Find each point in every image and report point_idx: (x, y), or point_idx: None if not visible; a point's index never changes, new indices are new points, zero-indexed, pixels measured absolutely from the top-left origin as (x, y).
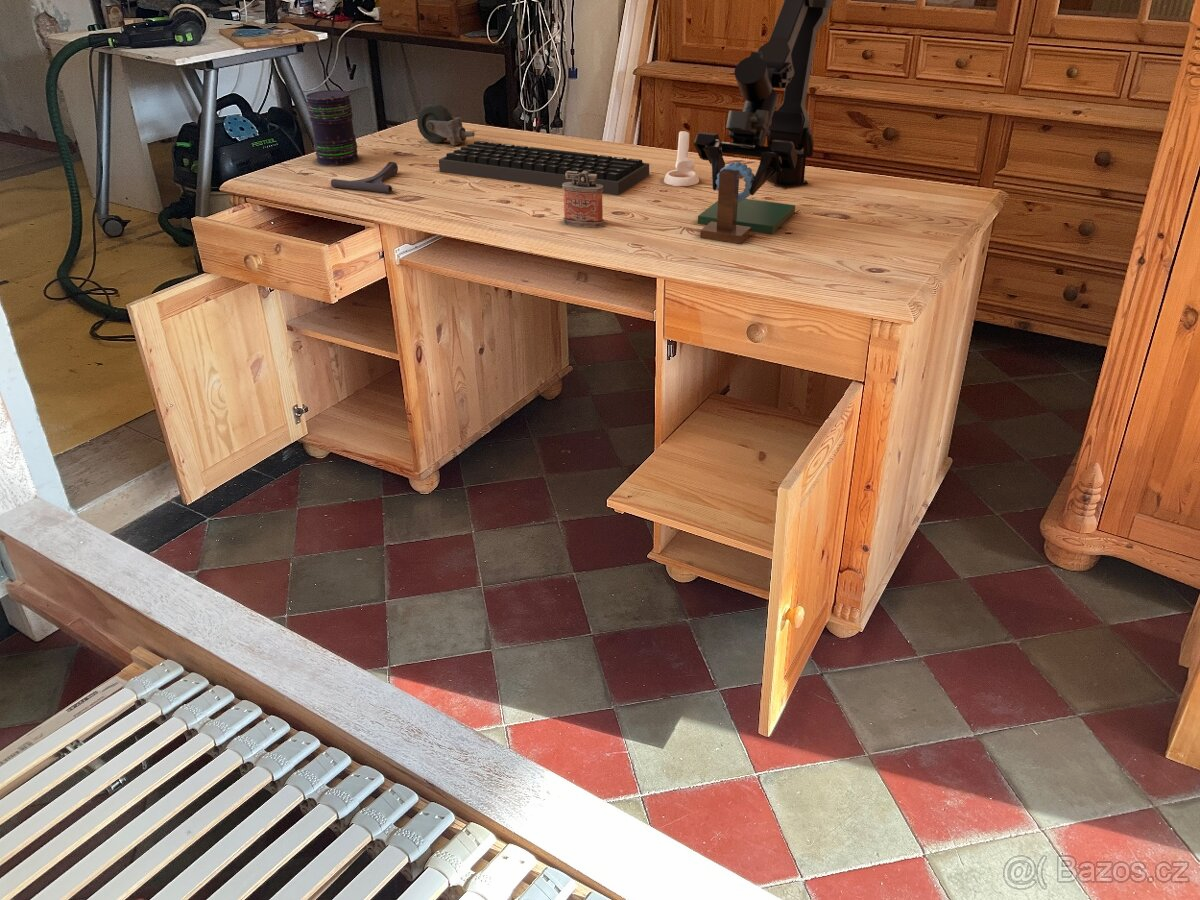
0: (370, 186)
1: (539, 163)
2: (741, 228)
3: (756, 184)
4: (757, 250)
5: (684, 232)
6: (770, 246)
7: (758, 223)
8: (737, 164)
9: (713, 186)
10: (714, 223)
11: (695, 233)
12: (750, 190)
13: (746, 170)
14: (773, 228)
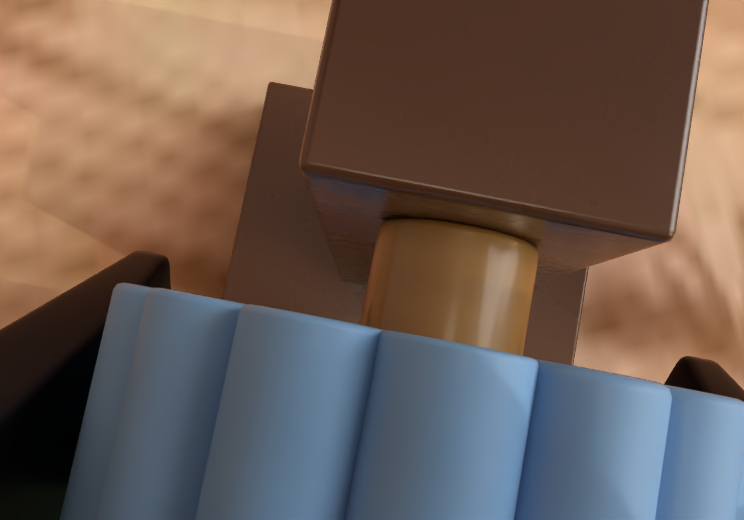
0: None
1: None
2: (293, 255)
3: (42, 306)
4: (144, 4)
5: (727, 255)
6: (62, 103)
7: None
8: (402, 464)
9: (708, 367)
10: (532, 331)
11: (642, 252)
12: (154, 266)
13: (169, 355)
14: None
